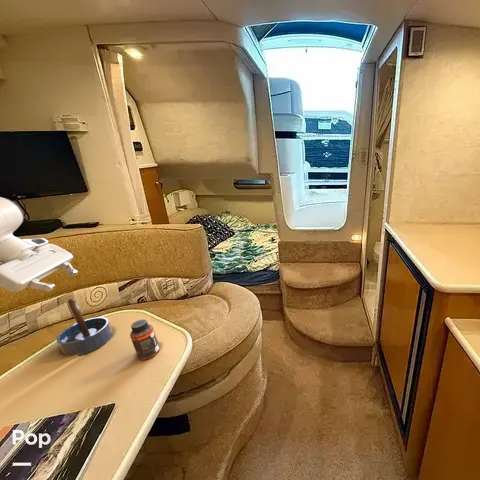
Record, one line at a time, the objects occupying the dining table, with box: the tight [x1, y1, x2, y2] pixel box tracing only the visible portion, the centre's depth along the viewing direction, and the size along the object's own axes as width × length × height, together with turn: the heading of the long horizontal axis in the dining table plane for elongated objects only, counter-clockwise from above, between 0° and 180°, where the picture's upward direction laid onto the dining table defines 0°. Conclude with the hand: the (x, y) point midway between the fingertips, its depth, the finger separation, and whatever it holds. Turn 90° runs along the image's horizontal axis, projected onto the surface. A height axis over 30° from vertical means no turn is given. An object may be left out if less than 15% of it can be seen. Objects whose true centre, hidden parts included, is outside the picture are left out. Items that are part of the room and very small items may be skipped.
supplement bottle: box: [129, 318, 161, 361], centre depth 81 cm, size 6×6×11 cm
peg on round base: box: [67, 297, 98, 341], centre depth 87 cm, size 6×6×16 cm
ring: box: [56, 316, 114, 357], centre depth 89 cm, size 13×13×6 cm
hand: (64, 281), depth 82 cm, fingers open, 8 cm apart
